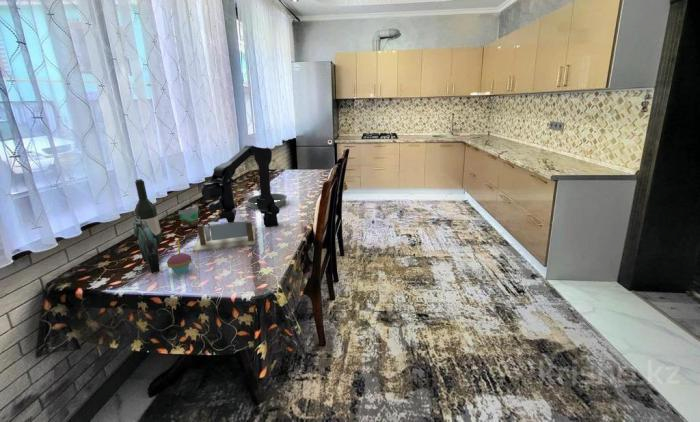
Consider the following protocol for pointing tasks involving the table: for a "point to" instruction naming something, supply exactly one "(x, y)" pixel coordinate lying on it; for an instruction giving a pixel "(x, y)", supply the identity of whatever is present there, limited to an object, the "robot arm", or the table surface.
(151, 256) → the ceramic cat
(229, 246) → the base board
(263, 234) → the table surface
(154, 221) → the wine bottle
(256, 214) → the table surface
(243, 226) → the gate
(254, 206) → the cake pan
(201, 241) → the hinge post
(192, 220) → the food container
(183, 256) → the cupcake
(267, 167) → the robot arm
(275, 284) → the table surface
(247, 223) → the latch post
